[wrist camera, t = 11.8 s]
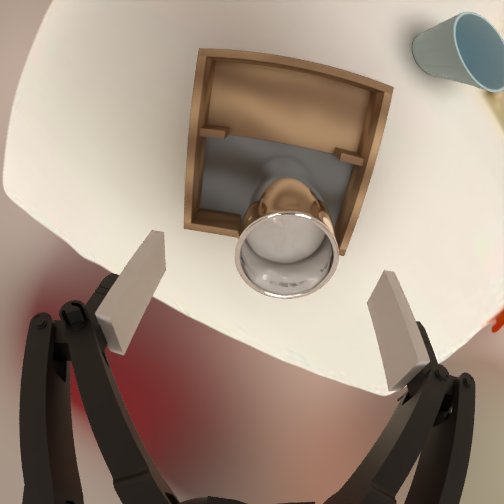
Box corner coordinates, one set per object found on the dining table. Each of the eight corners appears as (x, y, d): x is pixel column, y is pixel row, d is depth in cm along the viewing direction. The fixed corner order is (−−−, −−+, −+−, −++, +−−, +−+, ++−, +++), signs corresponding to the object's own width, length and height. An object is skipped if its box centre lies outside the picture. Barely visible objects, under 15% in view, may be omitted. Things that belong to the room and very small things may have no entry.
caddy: (210, 54, 22) (199, 48, 19) (377, 87, 23) (393, 87, 19) (194, 211, 33) (183, 228, 29) (336, 235, 33) (343, 256, 29)
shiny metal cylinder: (241, 193, 30) (214, 276, 18) (270, 140, 27) (263, 187, 14) (294, 220, 32) (302, 314, 19) (326, 171, 28) (364, 243, 16)
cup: (393, 57, 20) (443, 48, 11) (415, 14, 16) (465, -4, 7) (441, 97, 21) (498, 108, 13) (461, 55, 17) (517, 56, 9)
